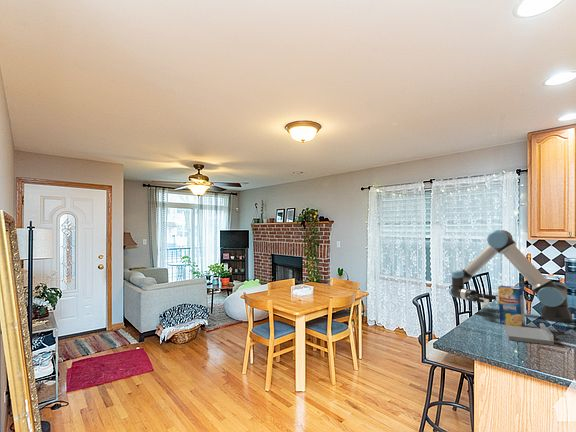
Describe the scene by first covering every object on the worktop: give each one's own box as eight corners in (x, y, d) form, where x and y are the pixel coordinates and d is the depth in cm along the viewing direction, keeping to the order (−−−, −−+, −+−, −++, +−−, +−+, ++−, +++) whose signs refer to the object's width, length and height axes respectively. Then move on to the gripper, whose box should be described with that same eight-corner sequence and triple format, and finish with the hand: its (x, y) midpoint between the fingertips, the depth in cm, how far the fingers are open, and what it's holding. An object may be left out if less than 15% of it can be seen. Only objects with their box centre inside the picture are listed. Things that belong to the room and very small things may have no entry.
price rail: (540, 328, 173) (539, 323, 174) (543, 329, 173) (543, 323, 173) (549, 340, 154) (549, 334, 154) (553, 341, 154) (553, 334, 154)
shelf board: (504, 328, 181) (504, 324, 181) (543, 332, 173) (543, 329, 173) (508, 339, 162) (508, 335, 162) (553, 345, 153) (553, 341, 154)
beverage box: (522, 327, 183) (519, 288, 184) (500, 323, 191) (498, 286, 192) (525, 325, 187) (523, 287, 188) (503, 321, 195) (501, 285, 197)
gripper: (484, 299, 222) (512, 305, 202) (454, 301, 215) (481, 308, 195) (483, 288, 222) (512, 293, 202) (454, 290, 216) (481, 296, 195)
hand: (497, 301), depth 198 cm, fingers open, 13 cm apart
